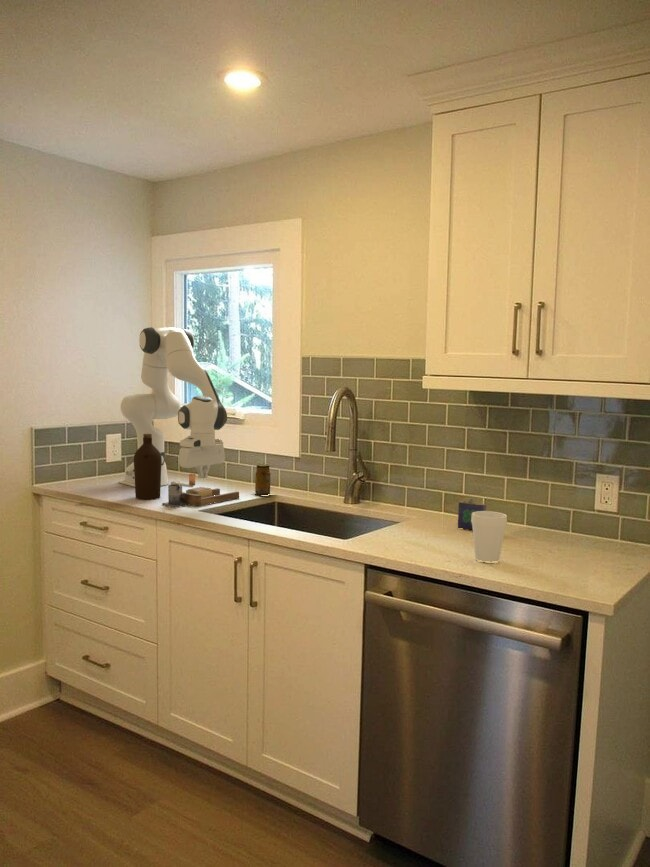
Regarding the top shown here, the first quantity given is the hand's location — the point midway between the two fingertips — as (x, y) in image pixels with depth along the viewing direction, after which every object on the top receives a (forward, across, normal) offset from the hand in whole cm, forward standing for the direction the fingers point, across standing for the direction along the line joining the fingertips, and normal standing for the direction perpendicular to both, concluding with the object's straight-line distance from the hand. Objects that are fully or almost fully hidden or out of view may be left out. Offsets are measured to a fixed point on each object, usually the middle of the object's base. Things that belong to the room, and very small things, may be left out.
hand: (202, 477), depth 268 cm
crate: (+11, -4, -6) cm, 13 cm away
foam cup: (+11, +2, +114) cm, 114 cm away
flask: (+11, -30, +94) cm, 99 cm away
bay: (+10, -10, -6) cm, 15 cm away
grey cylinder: (+10, +6, -8) cm, 15 cm away
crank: (+3, +6, -4) cm, 8 cm away
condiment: (+11, -32, +2) cm, 34 cm away
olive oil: (+11, +3, -27) cm, 29 cm away
